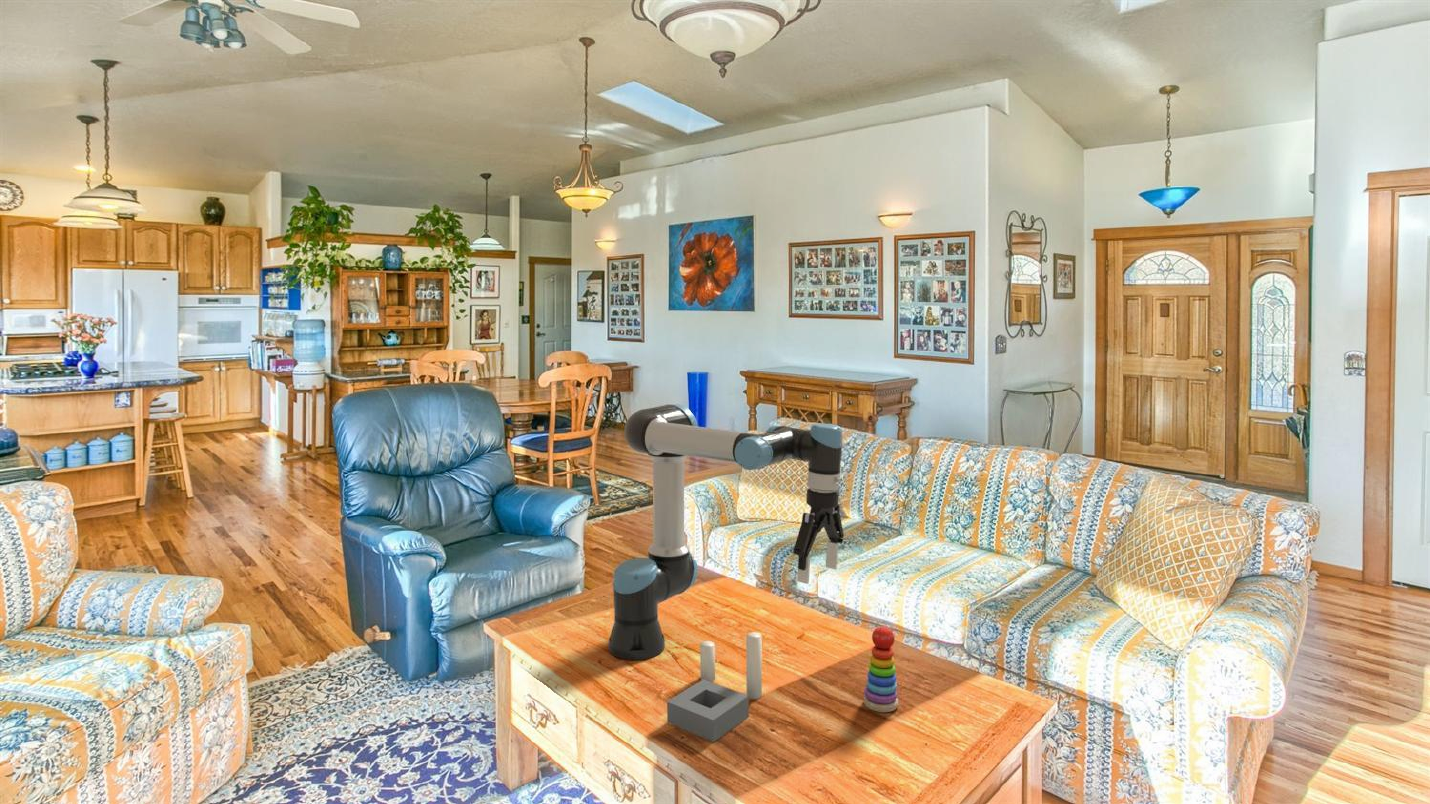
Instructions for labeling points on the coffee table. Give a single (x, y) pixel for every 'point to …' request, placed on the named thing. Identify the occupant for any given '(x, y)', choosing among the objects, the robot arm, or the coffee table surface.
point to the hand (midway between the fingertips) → (817, 575)
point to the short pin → (707, 660)
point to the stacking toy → (881, 673)
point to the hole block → (708, 710)
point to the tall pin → (754, 665)
